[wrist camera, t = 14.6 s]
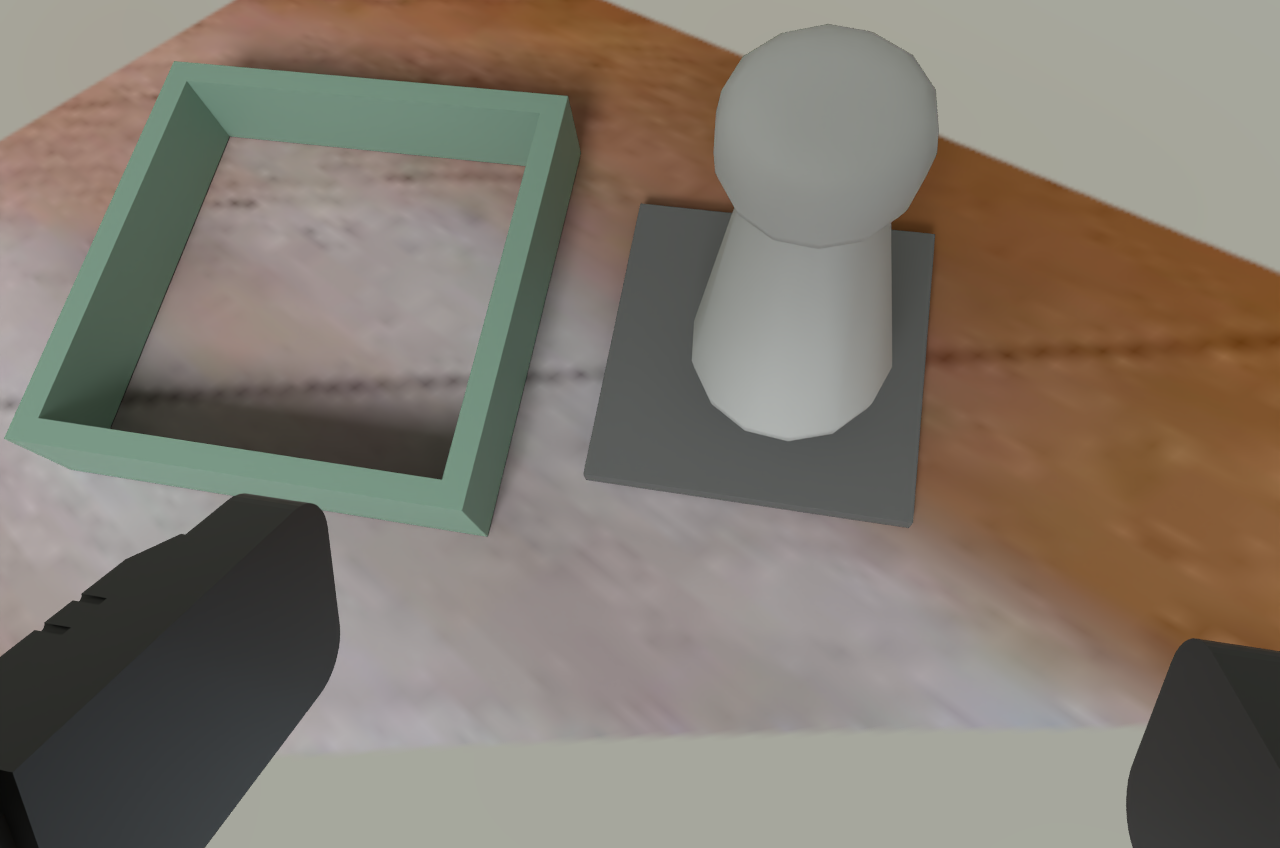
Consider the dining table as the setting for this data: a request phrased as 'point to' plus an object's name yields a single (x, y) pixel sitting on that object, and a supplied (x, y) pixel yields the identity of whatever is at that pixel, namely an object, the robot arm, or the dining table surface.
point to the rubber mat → (710, 441)
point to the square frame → (161, 223)
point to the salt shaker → (810, 227)
